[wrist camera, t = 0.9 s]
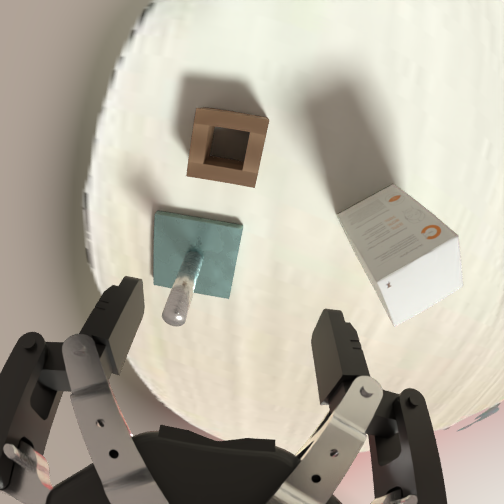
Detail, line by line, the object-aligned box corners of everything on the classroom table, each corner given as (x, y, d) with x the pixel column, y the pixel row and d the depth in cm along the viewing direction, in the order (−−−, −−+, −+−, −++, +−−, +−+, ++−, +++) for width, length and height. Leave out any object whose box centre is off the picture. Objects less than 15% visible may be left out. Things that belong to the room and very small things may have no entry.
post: (157, 210, 31) (118, 261, 22) (243, 225, 32) (237, 284, 22) (155, 280, 36) (128, 340, 26) (229, 293, 37) (221, 360, 27)
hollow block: (204, 107, 25) (196, 108, 22) (267, 117, 26) (269, 120, 22) (195, 166, 28) (186, 176, 25) (255, 176, 29) (254, 187, 26)
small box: (355, 255, 34) (392, 329, 22) (335, 214, 31) (374, 282, 20) (409, 225, 31) (465, 287, 20) (394, 181, 29) (459, 233, 17)
